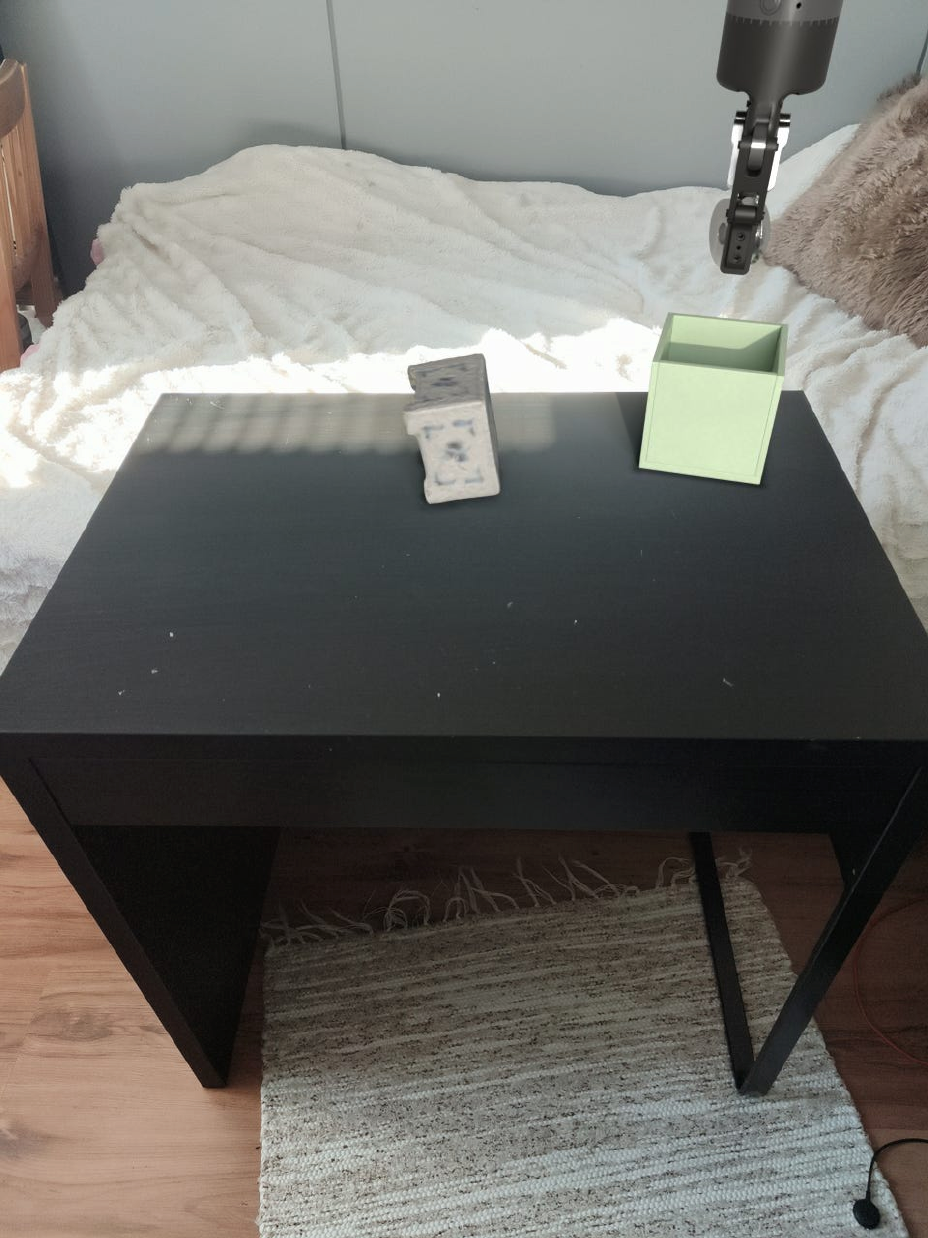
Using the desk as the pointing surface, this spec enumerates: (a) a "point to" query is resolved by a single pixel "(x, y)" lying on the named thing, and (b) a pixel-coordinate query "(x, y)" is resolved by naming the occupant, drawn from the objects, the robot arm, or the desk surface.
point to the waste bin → (713, 396)
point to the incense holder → (454, 428)
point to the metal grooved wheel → (720, 227)
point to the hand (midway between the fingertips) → (736, 257)
